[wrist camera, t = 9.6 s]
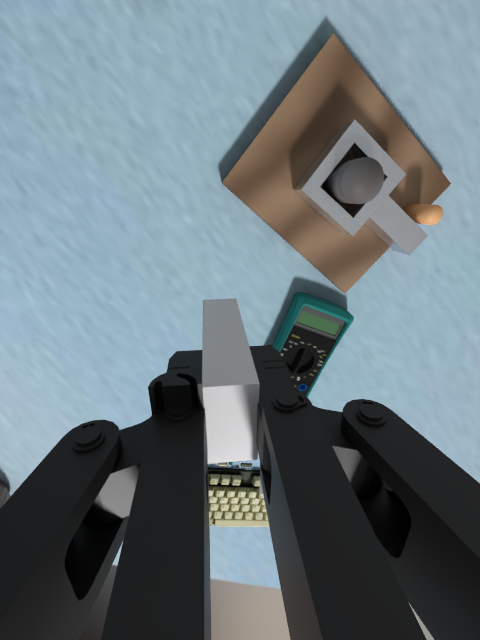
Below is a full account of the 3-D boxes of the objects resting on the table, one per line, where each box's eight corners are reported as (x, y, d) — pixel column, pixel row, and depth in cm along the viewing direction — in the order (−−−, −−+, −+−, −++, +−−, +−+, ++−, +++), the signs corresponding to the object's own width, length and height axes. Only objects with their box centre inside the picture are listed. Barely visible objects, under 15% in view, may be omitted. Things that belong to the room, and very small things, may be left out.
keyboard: (170, 514, 50) (168, 530, 47) (179, 445, 45) (178, 458, 42) (416, 524, 56) (425, 539, 54) (449, 465, 51) (460, 478, 49)
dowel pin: (399, 214, 32) (420, 216, 29) (412, 199, 31) (435, 200, 28) (409, 225, 32) (431, 228, 29) (422, 211, 32) (446, 213, 29)
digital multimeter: (248, 387, 41) (250, 400, 38) (296, 288, 36) (303, 296, 33) (295, 401, 43) (301, 415, 40) (348, 308, 38) (358, 317, 35)
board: (221, 182, 31) (224, 180, 25) (327, 41, 27) (360, -3, 21) (339, 289, 36) (365, 308, 30) (440, 184, 32) (492, 181, 26)
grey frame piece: (293, 190, 30) (301, 189, 27) (340, 126, 28) (354, 119, 25) (378, 266, 34) (393, 272, 31) (425, 214, 32) (445, 216, 29)
